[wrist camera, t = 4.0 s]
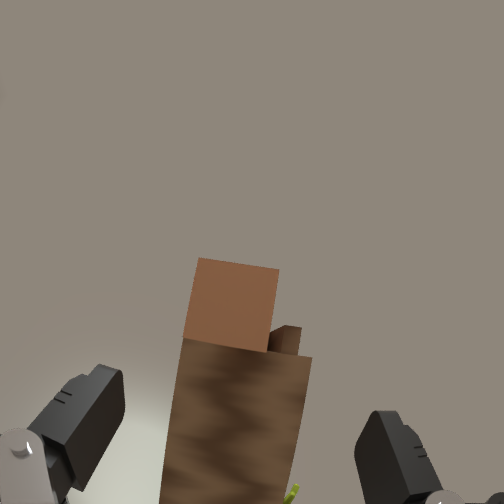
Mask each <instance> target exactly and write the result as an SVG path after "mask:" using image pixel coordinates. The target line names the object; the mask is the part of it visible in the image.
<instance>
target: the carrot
mask: <svg viewBox="0 0 504 504" xmlns="http://www.w3.org/2000/svg"><path fill="white" fill-rule="evenodd" d="M298 489H299V486H298V484H294V485H293V487H292V490H291V492H290V493H289V494H288V495H287V496H286V497H285V498H284V500H283V504H291V502H292V500H293V499H294V497H295V495H296V493H297V492H298Z"/></svg>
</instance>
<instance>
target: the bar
mask: <svg viewBox="0 0 504 504" xmlns="http://www.w3.org/2000/svg"><path fill="white" fill-rule="evenodd" d="M278 275H279V269H272V268H265V267H258V266H251V265H245V264H238V263H232V262H225V261H218V260H211V259H205V258H199V259H198V263H197V268H196V273H195V277H194V282H193V287H192V292H191V297H190V302H189V307H188V312H187V317H186V322H185V327H184V333H183V338H188V339H192V340H197V341H202V342H207V343H213V344H218V345H223V346H229V347H235V348H240V349H246V350H252V351H259V352H265V353H266V352H267V346H268V340H269V334H270V327H271V321H272V315H273V309H274V302H275V296H276V289H277V283H278Z"/></svg>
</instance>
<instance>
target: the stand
mask: <svg viewBox="0 0 504 504" xmlns="http://www.w3.org/2000/svg"><path fill="white" fill-rule="evenodd" d="M301 329H302V328H300V327H294V326H287V325H284V326H282V327H280V328H278V329H276V330H274V331H272V332H270V334H269V340H268V346H267V352H266V353H265V352H259V351H252V350H246V349H240V348H235V347H229V346H223V345H218V344H213V343H207V342H202V341H197V340H192V339H188V338H183V343H182V348H181V354H180V359H179V365H178V372H177V377H176V383H175V389H174V395H173V401H172V409H171V414H170V421H169V428H168V436H167V442H166V449H165V457H164V465H163V472H162V481H161V490H160V498H159V504H283V500H284V496H285V492H286V488H287V484H288V480H289V475H290V471H291V467H292V462H293V458H294V453H295V448H296V444H297V439H298V434H299V429H300V424H301V419H302V414H303V408H304V403H305V397H306V391H307V386H308V380H309V374H310V368H311V362H312V358H311V357H305V356H298V349H299V343H300V336H301Z"/></svg>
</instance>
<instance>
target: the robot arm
mask: <svg viewBox="0 0 504 504" xmlns="http://www.w3.org/2000/svg"><path fill="white" fill-rule="evenodd" d="M124 412H125V398H124V385H123V374H122V371H121V370H118V369H114V368H111V367H108V366H105V365H102V364H98V365H97V366H96V367H95V368H94V370H93V371H92V372H91V373H90V374H89V375H88V376H87V375H84V374H81V375H79V376H77V377H75V378H73V379H71V380H69V381H68V382H67V383H66V384H65V385H64V387H63V388H62V389H61V391H60V392H58V393H57V394H56V396H55V397H54V399H53V400H51V401H50V402H49V404H48V405H47V406H46V407H45V408H44V409H43V411H42V412H41V413H40V414H39V415H38V416H37V417H36V419H35V420H34V421H33V422H32V423H31V424H30V426H29V427H28V428H27V429H21V428H17V429H11V430H8V431H6V432H5V433H4V434H2V435H0V502H1V504H69V501H68V498H67V493H68V491H69V490H70V488H71V487H73V488H75V489H77V490H79V491H81V492H83V491H84V489H85V487H86V485H87V483H88V481H89V479H90V478H91V476H92V474H93V472H94V470H95V468H96V467H97V465H98V463H99V461H100V459H101V458H102V456H103V454H104V452H105V451H106V449H107V447H108V445H109V443H110V442H111V440H112V438H113V436H114V434H115V433H116V431H117V429H118V427H119V425H120V424H121V422H122V420H123V416H124ZM354 457H355V461H356V466H357V470H358V474H359V478H360V482H361V486H362V490H363V495H364V499H365V503H366V504H480V503H464V501H463V499H462V498H461V497H460V496H459V495H457V494H456V493H454V492H452V491H448V490H443V488H442V486H441V483H440V481H439V479H438V477H437V475H436V472H435V470H434V468H433V466H432V464H431V462H430V459H429V458H428V457H427V453H426V451H425V449H424V448H423V445H422V443H421V441H420V439H419V436H418V435H417V434H416V433H415V432H414V431H413V430H412V429H411V428H410V427H409V426H408V425H403V423H402V421H401V418H400V416H399V414H398V413H397V412H396V411H374V412H372V413H371V415H370V417H369V419H368V421H367V423H366V425H365V427H364V429H363V431H362V433H361V435H360V437H359V438H358V440H357V442H356V446H355V451H354ZM481 504H482V503H481ZM483 504H504V493H503V492H500V493H496V494H494V495H493V496H491V497H490V498H489V500H488V501H487V502H485V503H483Z"/></svg>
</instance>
